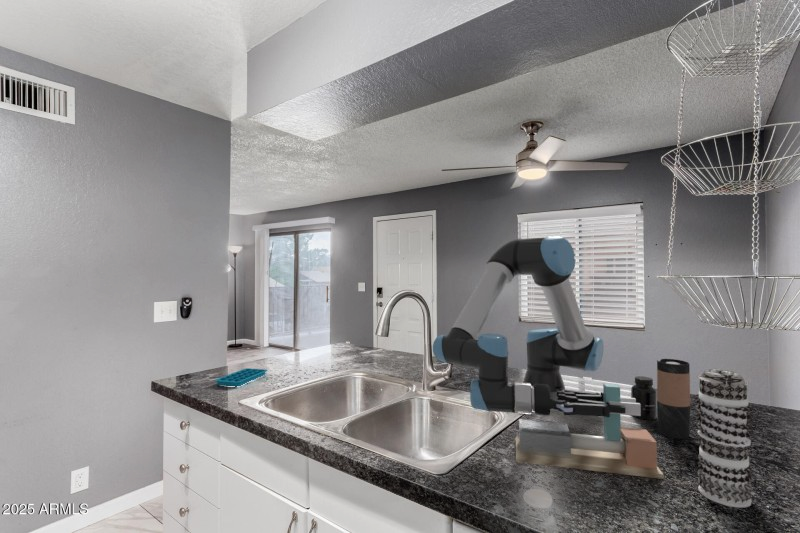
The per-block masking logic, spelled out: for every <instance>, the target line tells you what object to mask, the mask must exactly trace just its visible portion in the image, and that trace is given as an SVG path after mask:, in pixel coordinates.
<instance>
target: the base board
mask: <svg viewBox="0 0 800 533" xmlns="http://www.w3.org/2000/svg"><path fill="white" fill-rule="evenodd" d="M515 461H516V463H524V464H526V463H527V464H534V465H540V466H541V465H543V466H551V467H559V468H568V469H569V468H570V469H575V470H577V469H578V470H582V471H583V470H584V471H585V470H586V471H593V472H599V473H608V474H617V475H626V476H636V477H644V478H650V479H651V478H653V479H660V480H664V473H663V472H662V471H661V469H660V467H658V465H657V469H654V468H645V467H636V466H627V464H626V463H625V461H624V459H623V457H622V456H621V454H620V453H610V452H601V451H592V450H582V449H573V448H571V459H567V458H558V457H549V456H540V455H531V454H523V453H520V446H519V436H515Z"/></svg>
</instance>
